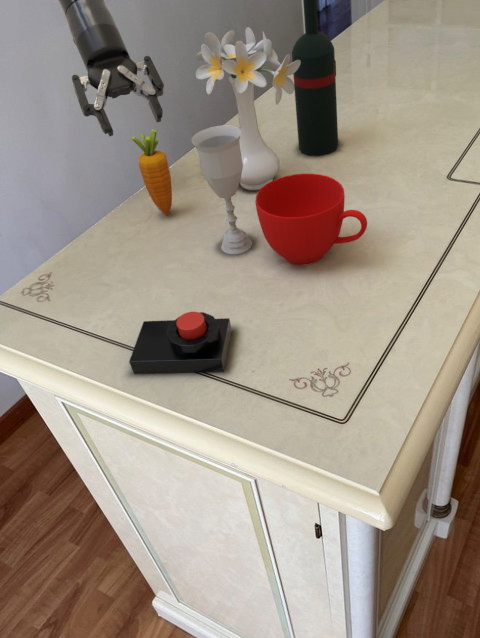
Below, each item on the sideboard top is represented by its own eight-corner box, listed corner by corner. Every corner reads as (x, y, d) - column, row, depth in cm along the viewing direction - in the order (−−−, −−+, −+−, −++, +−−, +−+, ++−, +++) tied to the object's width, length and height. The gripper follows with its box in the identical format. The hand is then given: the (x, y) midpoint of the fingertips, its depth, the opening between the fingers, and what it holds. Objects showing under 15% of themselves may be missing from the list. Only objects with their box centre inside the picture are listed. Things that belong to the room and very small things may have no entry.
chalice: (241, 228, 99) (222, 121, 86) (267, 242, 95) (251, 132, 82) (206, 247, 96) (181, 139, 83) (231, 263, 92) (210, 152, 79)
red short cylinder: (176, 340, 75) (173, 330, 73) (182, 322, 77) (179, 311, 76) (204, 339, 74) (201, 329, 73) (208, 321, 77) (206, 310, 75)
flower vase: (291, 205, 102) (276, 49, 85) (201, 193, 109) (169, 46, 92) (319, 171, 110) (310, 21, 93) (233, 161, 117) (210, 20, 99)
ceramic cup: (348, 291, 84) (346, 230, 77) (248, 267, 91) (238, 208, 84) (383, 244, 91) (384, 184, 84) (288, 224, 98) (282, 167, 91)
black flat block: (133, 373, 76) (124, 351, 74) (147, 333, 82) (139, 310, 79) (224, 371, 75) (218, 348, 72) (232, 330, 80) (227, 307, 78)
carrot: (149, 221, 104) (124, 138, 93) (159, 207, 107) (136, 124, 96) (175, 222, 103) (152, 138, 92) (184, 208, 106) (164, 124, 95)
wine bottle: (350, 137, 119) (346, -40, 98) (326, 158, 114) (317, -24, 93) (316, 132, 123) (306, -40, 102) (291, 153, 117) (275, -25, 96)
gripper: (52, 33, 93) (93, 128, 94) (137, 12, 97) (176, 104, 97) (58, 60, 100) (96, 149, 101) (136, 40, 104) (173, 125, 105)
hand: (135, 126), depth 99 cm, fingers open, 8 cm apart
